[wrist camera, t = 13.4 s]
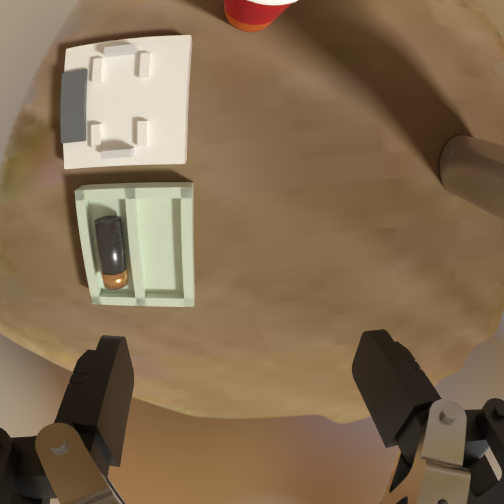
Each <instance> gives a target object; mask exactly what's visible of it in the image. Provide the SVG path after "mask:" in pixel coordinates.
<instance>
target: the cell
mask: <svg viewBox="0 0 504 504" xmlns="http://www.w3.org/2000/svg"><path fill="white" fill-rule="evenodd" d="M94 226H95V234H96V241H97V248H98V255H99V262H100V268H101V275H102V280H103V285H104V287H105V288H107V289H110V290H117V289H121V288H123V287H125V286H126V285H127V284H128V282H129V280H128V273H127V266H126V259H125V250H124V241H123V231H122V220H121V217H120V216H115V215H110V216H103V217H100V218H97V219H96V220H95V221H94Z"/></svg>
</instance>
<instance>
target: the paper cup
mask: <svg viewBox="0 0 504 504" xmlns="http://www.w3.org/2000/svg"><path fill="white" fill-rule="evenodd" d="M296 1H298V0H224V10H225V15H226V18H227V19H228V21H229V22H230V23H231V24H232V25H233V26H234V27H235V28H237V29H239V30H242V31H247V32H254V31H259V30H262V29H264V28H266V27H267V26H269V25H270V24H271V23H272V22H273V21H274V20H275V19H277V18H278V17H279V16H280V15H281V14H282V13H283V12H284V11H285V10H286V9H287V8H288V7H289V6H290V5H291V4H292V3H293V2H296Z"/></svg>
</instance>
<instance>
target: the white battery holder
mask: <svg viewBox="0 0 504 504" xmlns="http://www.w3.org/2000/svg"><path fill="white" fill-rule="evenodd" d="M191 51H192V37H191V35H174V36H155V37H142V38H131V39H122V40H114V41H107V42H100V43H94V44H88V45H83V46H77V47H72V48H67V49H66V56H65V68H64V73H62V79H61V109H60V126H61V144H63V150H64V168H65V169H73V168H86V167H102V166H121V165H148V164H185V163H186V161H187V126H188V101H189V81H190V65H191Z"/></svg>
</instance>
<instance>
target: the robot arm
mask: <svg viewBox="0 0 504 504" xmlns="http://www.w3.org/2000/svg"><path fill="white" fill-rule="evenodd" d="M439 169H440V177H441V181H442V183H443V185H444V187H445V188H446V190H448V191H449V192H450V193H452V194H454V195H456V196H458V197H460V198H462V199H464V200H466V201H468V202H470V203H472V204H474V205H475V206H477V207H479V208H481V209H483V210H485V211H487V212H489V213H491V214H493V215H495V216H496V217H498V218H500V219H502V220H504V145H500V144H497V143H493V142H489V141H485V140H482V139H478V138H474V137H469V136H465V135H458V136H455V137H453V138H452V139H450V140H449V141H448V142H447V144H446V145H445V147H444V149H443V151H442V154H441V158H440V166H439ZM352 374H353V378H354V380H355V382H356V385H357V387H358V389H359V391H360V393H361V395H362V397H363V399H364V401H365V404H366V406H367V408H368V410H369V412H370V414H371V416H372V419H373V421H374V423H375V425H376V427H377V429H378V432H379V434H380V436H381V438H382V440H383V442H384V444H385V447H386V448H389V447H392V446H396V445H398V446H399V448H400V450H399V452H398V453H397V456H396V459H395V463H394V466H393V469H392V472H391V475H390V478H389V481H388V484H387V486H386V489H385V492H384V495H383V497H382V499H381V500H380V502H379V504H504V401H503V400H501V399H497V398H493V399H490V400H488V401H487V402H486V403H485V405H484V406H483V408H482V409H481V410H464V409H463V408H462V407H461V406H460V405H459V404H458V403H456V402H454V401H452V400H449V399H442V398H441V397H440V396H439V394H438V392H437V391H436V389H435V388H434V386H433V385H432V383H431V382H430V380H429V379H428V377H427V376H426V375H425V373H424V372H423V370H421V367H420V366H419V364H418V363H417V362H415V359H414V357H413V356H412V354H411V353H410V351H409V350H408V349H407V348H405V347H404V346H403V345H401V344H400V343H399V342H398V341H397V342H394V340H393V339H392V338H391V336H390V335H389V333H388V332H387V331H386V330H384V329H381V330H372V331H365V332H364V333H363V334H362V336H361V339H360V343H359V346H358V349H357V351H356V354H355V357H354V360H353V364H352ZM69 382H70V383H69V384H68V386H67V389H66V392H65V394H64V397H63V400H62V403H61V405H60V408H59V411H58V414H57V417H56V419H55V422H54V423H53V424H49V425H47V426H45V427H44V428H43V429H42V430H41V431H40V432H39V433H38V435H37V436H33V437H16V438H11V437H10V436H9V435H8V434H7V432H6V431H4V430H3V429H2V428H0V504H50V499H51V498H58V500H59V502H60V504H126V503H125V502H124V500H123V499H122V498H121V496H120V495H119V493H118V492H117V490H116V489H115V488H114V486H113V484H112V483H111V481H110V480H109V478H108V477H107V476H108V469H109V465H110V466H117V467H120V463H121V455H122V449H123V442H124V436H125V430H126V424H127V418H128V413H129V407H130V402H131V397H132V392H133V387H134V372H133V367H132V363H131V359H130V355H129V350H128V346H127V342H126V339H125V337H122V336H106V335H103V336H102V337H101V338H100V341H99V343H98V346H97V348H96V350H87V351H86V352H85V353H84V354H83V355H82V356H81V357H80V358H79V359H78V361H77V363H76V366H75V368H74V371H73V374H72V376H71V378H70V381H69ZM490 448H491V450H492V452H493V454H494V456H495V458H496V460H497V461H498V463H499V465H500V467H501V470H502V477H501V479H500V481H498V480H497V478H496V476H495V474H494V472H493V470H492V468H491V466H490V464H489V462H488V460H487V458H486V456H485V453H486V452H487V451H488V450H489V449H490Z"/></svg>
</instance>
